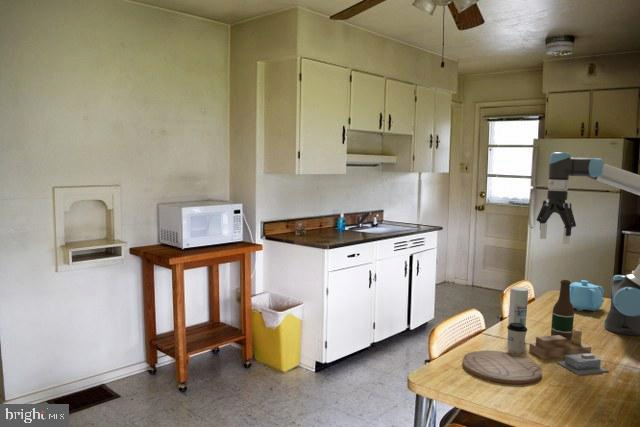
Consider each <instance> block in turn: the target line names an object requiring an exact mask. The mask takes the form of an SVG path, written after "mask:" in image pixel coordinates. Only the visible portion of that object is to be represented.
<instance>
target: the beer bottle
mask: <svg viewBox="0 0 640 427" xmlns="http://www.w3.org/2000/svg"><path fill="white" fill-rule="evenodd" d="M559 283H560V290H559V296H558V300H557V301H556V302H555V304H554V306H553V308H552V313H551V314H552V315H551V316H552V317H551V329H550V330H551V331H550V336H554V335H560V336H562V337H565V338H567V340H572V334H573V329H574V321H575V320H574V318H575V317H574V316H575V308H573V305H572V304H571V302H570V284H571V280H567V279H561V280H560V282H559Z"/></svg>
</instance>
